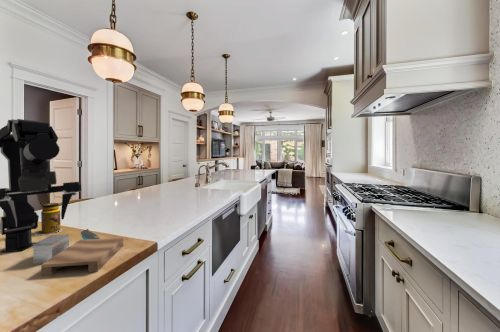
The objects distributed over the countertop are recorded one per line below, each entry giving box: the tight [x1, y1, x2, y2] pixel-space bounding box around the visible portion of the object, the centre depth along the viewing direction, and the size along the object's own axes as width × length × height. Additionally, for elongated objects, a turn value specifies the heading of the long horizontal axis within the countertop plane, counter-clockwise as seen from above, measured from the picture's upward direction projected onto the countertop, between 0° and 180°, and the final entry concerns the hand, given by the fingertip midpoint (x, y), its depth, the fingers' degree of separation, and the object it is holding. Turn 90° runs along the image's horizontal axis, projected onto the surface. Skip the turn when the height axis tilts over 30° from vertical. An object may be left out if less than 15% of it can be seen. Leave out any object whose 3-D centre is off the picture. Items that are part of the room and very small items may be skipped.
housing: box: [32, 233, 70, 264], centre depth 71 cm, size 8×5×6 cm, turn 10°
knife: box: [80, 228, 101, 240], centre depth 89 cm, size 24×1×5 cm
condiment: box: [34, 202, 63, 237], centre depth 94 cm, size 7×8×12 cm
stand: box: [40, 237, 124, 276], centre depth 70 cm, size 18×14×3 cm
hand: (40, 223), depth 59 cm, fingers open, 9 cm apart
